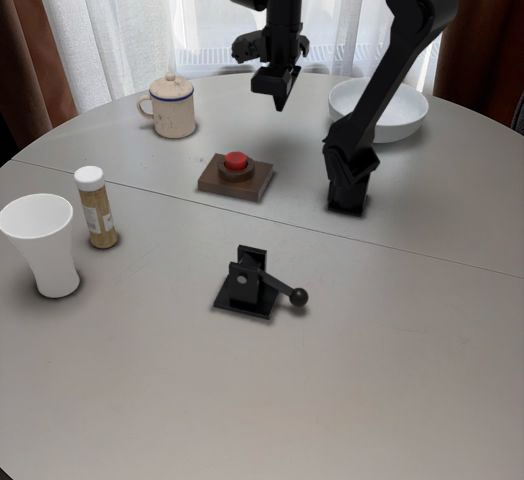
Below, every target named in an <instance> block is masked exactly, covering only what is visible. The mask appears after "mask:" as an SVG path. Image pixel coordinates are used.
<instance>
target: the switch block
mask: <svg viewBox="0 0 524 480" xmlns="http://www.w3.org/2000/svg"><path fill="white" fill-rule="evenodd" d="M226 155H227V154H223V153H218V152H215V153H214V155H212V158H211V159H210V160H209V162H208V164H207V165H206V167H205V168H204V170H203V171H202V173H201V175H200V176H199V177H198V178H197V190H198V191H199V192H200V191H201V192H206V193H211V194H215V195H220V196H224V197H225V196H226V197H231V198H234V199H239V200H245V201H250V202H253V203H259V201H260V200H261V198H262V196H263V194H264V192H265V190H266V188H267V186H268V184H269V182H270V180H271V179H272V177H273V175H274V163H270V162H265V161H259V160H255V159H253V158H251V157H250V156H248V155H247V154H245V155H246V157H247V166H246V168H245V169H243V170H238V171H234V170H229V169H227V168H226V166H225V156H226Z"/></svg>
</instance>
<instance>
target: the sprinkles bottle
mask: <svg viewBox="0 0 524 480" xmlns="http://www.w3.org/2000/svg"><path fill="white" fill-rule="evenodd" d="M73 180H74V183H75V187H76V189H77V190H78V194H79V198H80V204H81V207H82V211H83V214H84V219H85V222H86V226H87V229H88V233H89V235H90V243H91V244H92V246H94V247H96V248H98V249H109V248H111V247H112V246H114V245H115V244H116V243H117V241H118V235H117V232H116V228H115V222H114V218H113V214H112V213H113V212H112V209H111V204H110V200H109V198H108V192H107V188H106V177H105V173H104V171H103V169H101V168H100V167H98V166H95V165H86V166H82V167H80V168H78V169H77V170H76V171H75V172H74V174H73Z"/></svg>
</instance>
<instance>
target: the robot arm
mask: <svg viewBox="0 0 524 480" xmlns="http://www.w3.org/2000/svg"><path fill="white" fill-rule="evenodd" d="M384 1H385V5H386V6H387V8H388V10H389V11H390V12H391V14H392V15H393V20H392V22H391V25H390V28H389V43H388V46H387V48H386V50H385V52H384V54H383V55H382V58H381V60H380V61H379V63H378V64H377V67H376V68H375V70H374V72H373V74H372V75H371V76H370V77H371V79H370V81H369V83H368V85H367V86H366V88H365V90H364V92H363V94H362V95H361V97H360V99H359V101H358V103H357V104H356V106H355V108H354V110H353V112H350V113H348V114H347V115H345V116H344V117H342V118H340V119H339V120H337V121H335V122H334V121H333V122H332V123H331V124H330V126H329V129H328V131H327V135H326V136H325V137H324V138H323V139H321V142H322V143H323V146H322V149H321V153H322V155H323V158H324V164H325V170H326V175H327V180H328V181H329V184H328V190H327V197H326V198H327V199H326V200H327V202H328V204H327V207H326V208H327V210H328V211H332V212H336V213H342V214H347V215H352V216H356V217H362V216H363V213H364V210H365V207H366V204H367V201H368V196H369V195H368V189H369V185H370V179H371V175H372V173H373V172H375V171H377V169H378V167H379V166H380V164H381V159H380V158H379V156H378V154H377V153H376V150H375V149H374V146H373V143H374V142H373V140H374V138H375V126H376V124H377V122H378V120H379V119H380V117H381V115H382V114H383V112H384V111H385V109H386V107H387V106H388V104H389V103H390V101H391V99H392V98H393V96H394V94H395V93H396V91H397V90H398V88H399V86H400V85H401V83H403V81H404V80H405V78H406V77H407V75H408V74H409V72H410V70H411V69H412V67H413V65H414V64H415V62H416V60H417V59H418V57H420V55H421V53H423V52H424V51H425V50H426V49H427V48H428V47H429V46H430V45H431V44H432V43H433V42H434V41H435V40H436V39H437V38H438V37H439V36H440V35H441V34H442V33H443V32H444V30H446V28H447V27H448V26H449V25H450V24H451V23H452V21H454V19H455V17H456V16H457V14H458V10H459V3H458V0H384ZM229 2H231V3H233V4H236V5H239V6H242V7H243V8H247V9H249V10H251V11H255V12H258V13H262V12H264V11H265V25H264V26H263V27H262V29H257V30H254V31H249V32H247V33H243V34H240V35H238V36H237V37H236V38H235V39H234V41H232V43H231V47H230V49H231V54H230V56H231V58H232V59H235V61H236V63H237V65H241V64H244V63H246V62H249V61H252V60H257V59H259V63H262V64H267V63H268V64H267V65H266V66H265V65H264V66H263V65H262V66H261V65H260V67H259V68H258V69H256V70H255V72H254V74H253V75H252V76H251V78H250V92H251V93H254V94H259V95H266V96H272V100H273V104H274V108H275V110H276V112H278V113H282V112H283V111H284V108H285V107H286V105H287V101H288V99H289V97H290V96H291V93H292V90H293V88H294V86H295V85H296V82H297V80H298V77H299V75H300V73H301V71H302V66H301V65H298V64H297V63H298V60H299V59H300V58H301V55H302V58H304V59H306V58H307V57H308V55H309V53H310V45H311V41H310V40H309V38H308V37H307V36H306V35H303V34H301V33H302V31H303V29H304V22H303V21H302V9H303V8H302V7H303V0H229Z"/></svg>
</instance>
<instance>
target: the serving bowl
mask: <svg viewBox="0 0 524 480" xmlns="http://www.w3.org/2000/svg"><path fill="white" fill-rule="evenodd" d="M371 77H372V76H370V77H369V76H367V77H365V76H364V77H356V78H349V79H347V80H344V81H341V82H339V83H337V84H336V85H334V86H333V87H332V88H331V89H330V91H329V93H328V97H327V98H328V99H327V101H328V102H327V103H328V111H329V114H330V117H331V119H332V121H333V123H334V122H335V121H337V120H339V119H340V118H342V117H344V116H345V115H347V114H348V113H350V112H353V110H354V108H355V106H356V104H357V103H358V101H359V99H360V97H361V95H362V94H363V92H364V90H365V88H366V86H367V85H368V83H369V81H370V79H371ZM429 110H430V104H429V101H428V99H427V98H426V97H425V95H424V94H422V92H420V90H418V89H416V88H414V87H412V86H411V85H408V84H406V83H405V82H404V83H403V82H402V83H401V85H400V86H399V88H398V90H397V91H396V93H395V94H394V96H393V98H392V99H391V101H390V103H389V104H388V106H387V107H386V109H385V111H384V112H383V114H382V115H381V117H380V119H379V120H378V122H377V124H376V126H375V138H374V140H373V143H374V144H376V143H377V144H386V143H393V142H398V141H401V140H403V139H406V138H408V137H409V136H411V135H413V134H414V133H416V131H417V130H418V129H419V128H420V127H421V126H422V125H423V123H424V122H425V119H426V118H427V116H428V113H429Z"/></svg>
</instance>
